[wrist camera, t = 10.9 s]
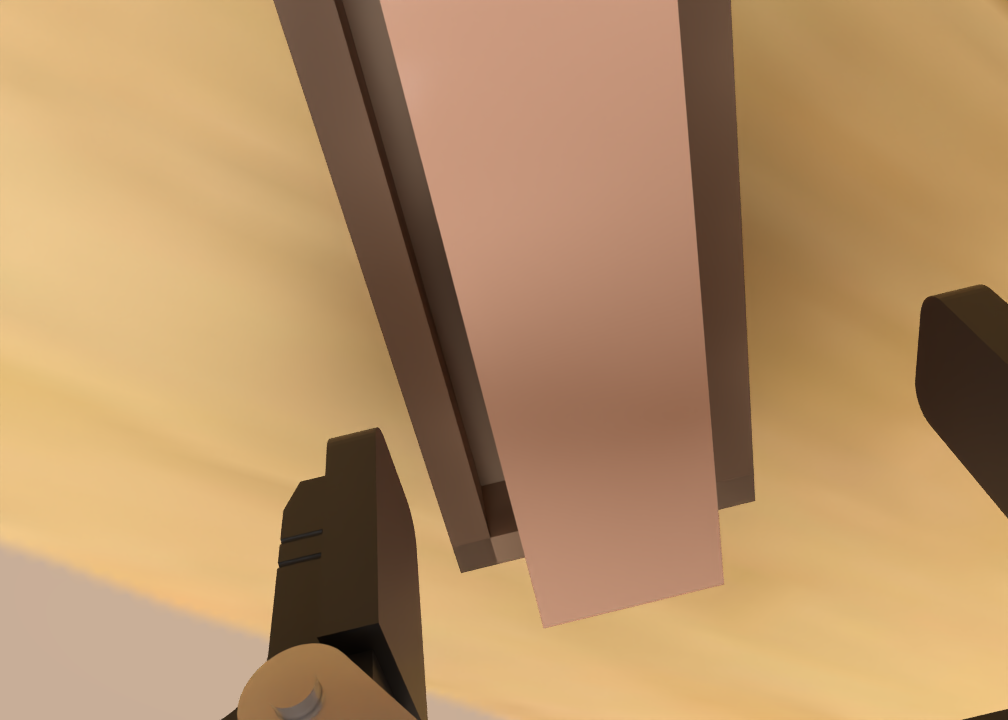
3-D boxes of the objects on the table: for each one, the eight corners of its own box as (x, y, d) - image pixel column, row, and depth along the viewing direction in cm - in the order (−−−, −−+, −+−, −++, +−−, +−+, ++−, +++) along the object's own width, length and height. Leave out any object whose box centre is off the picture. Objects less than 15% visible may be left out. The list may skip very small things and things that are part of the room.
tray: (653, -401, 16) (709, -429, 13) (717, 430, 26) (755, 501, 24) (201, -293, 16) (174, -301, 13) (450, 496, 26) (461, 573, 24)
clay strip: (343, -183, 16) (340, -154, 11) (563, -235, 16) (659, -230, 11) (504, 451, 24) (543, 628, 20) (648, 416, 25) (723, 584, 20)
